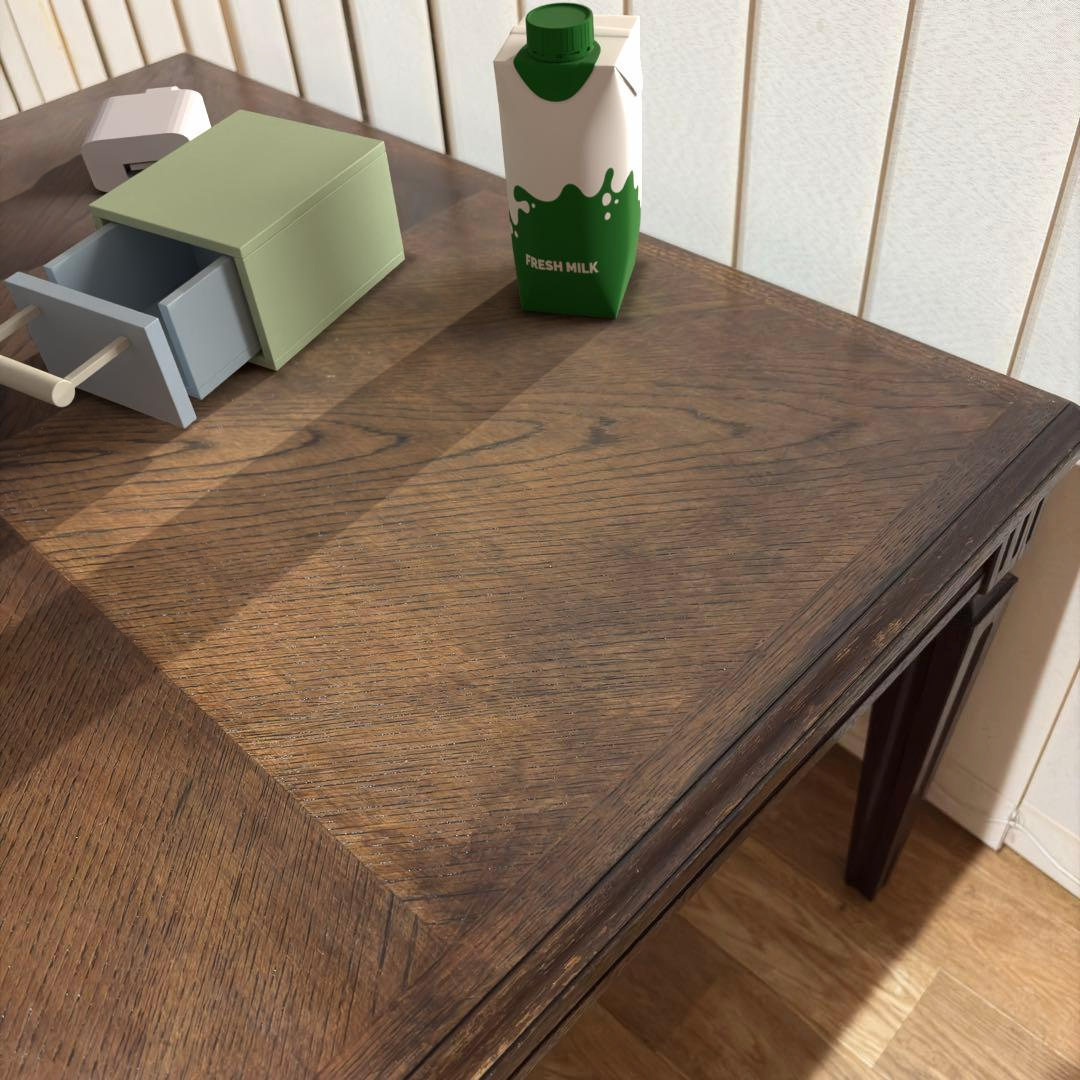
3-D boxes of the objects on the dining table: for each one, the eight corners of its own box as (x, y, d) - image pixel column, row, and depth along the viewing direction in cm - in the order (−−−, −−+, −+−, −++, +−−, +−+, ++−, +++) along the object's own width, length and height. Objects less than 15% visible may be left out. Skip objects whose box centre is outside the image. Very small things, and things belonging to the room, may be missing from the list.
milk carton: (506, 317, 76) (476, 28, 62) (537, 249, 82) (516, -28, 68) (626, 328, 75) (624, 33, 60) (649, 258, 80) (652, -25, 66)
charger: (221, 108, 104) (202, 183, 93) (126, 118, 104) (97, 194, 93) (207, 59, 100) (186, 131, 90) (109, 69, 100) (76, 142, 90)
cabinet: (276, 371, 74) (239, 248, 67) (135, 323, 79) (87, 205, 72) (405, 259, 83) (384, 140, 76) (270, 222, 88) (239, 108, 81)
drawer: (113, 490, 65) (63, 389, 59) (-22, 432, 70) (-80, 333, 64) (323, 310, 77) (298, 212, 71) (195, 272, 82) (163, 176, 76)
